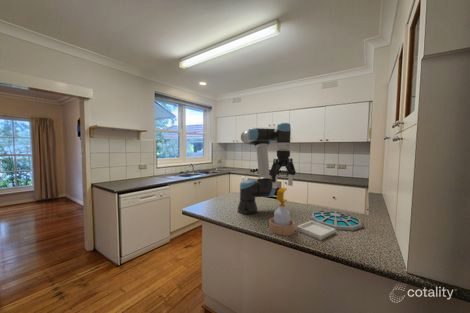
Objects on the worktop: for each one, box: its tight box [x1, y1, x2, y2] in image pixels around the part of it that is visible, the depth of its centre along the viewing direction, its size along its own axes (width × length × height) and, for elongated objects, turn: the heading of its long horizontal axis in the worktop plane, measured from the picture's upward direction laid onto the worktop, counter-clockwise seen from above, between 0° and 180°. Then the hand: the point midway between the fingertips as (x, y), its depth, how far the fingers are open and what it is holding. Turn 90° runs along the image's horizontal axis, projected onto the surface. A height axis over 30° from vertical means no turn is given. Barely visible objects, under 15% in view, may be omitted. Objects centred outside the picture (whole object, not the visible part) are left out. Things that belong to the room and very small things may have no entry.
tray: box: [296, 220, 336, 242], centre depth 110 cm, size 15×15×2 cm
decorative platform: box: [310, 210, 364, 232], centre depth 127 cm, size 31×29×5 cm
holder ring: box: [268, 217, 296, 236], centre depth 112 cm, size 14×14×5 cm
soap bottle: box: [273, 187, 291, 226], centre depth 112 cm, size 9×9×25 cm
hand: (282, 186), depth 111 cm, fingers open, 13 cm apart
